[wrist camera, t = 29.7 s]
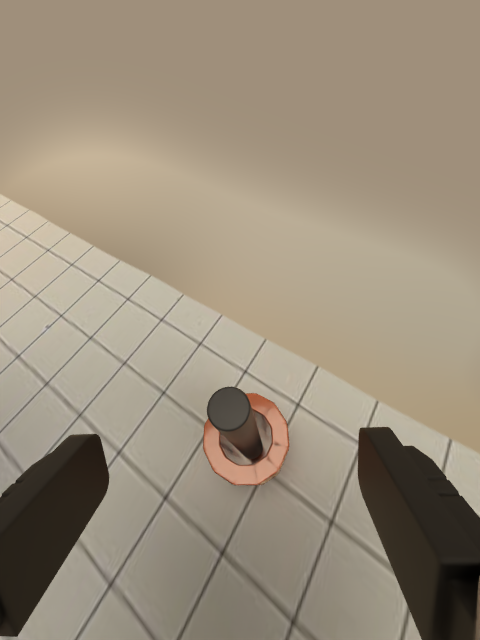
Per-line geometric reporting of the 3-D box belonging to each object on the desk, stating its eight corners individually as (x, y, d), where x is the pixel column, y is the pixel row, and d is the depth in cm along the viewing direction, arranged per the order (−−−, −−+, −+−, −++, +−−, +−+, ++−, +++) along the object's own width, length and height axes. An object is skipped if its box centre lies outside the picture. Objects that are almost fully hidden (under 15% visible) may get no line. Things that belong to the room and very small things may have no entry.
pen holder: (220, 485, 19) (200, 485, 14) (222, 416, 22) (205, 394, 16) (288, 485, 19) (292, 484, 14) (282, 414, 21) (284, 391, 16)
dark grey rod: (242, 460, 19) (205, 431, 9) (241, 437, 20) (207, 387, 10) (263, 460, 19) (250, 430, 9) (262, 436, 20) (250, 385, 10)
